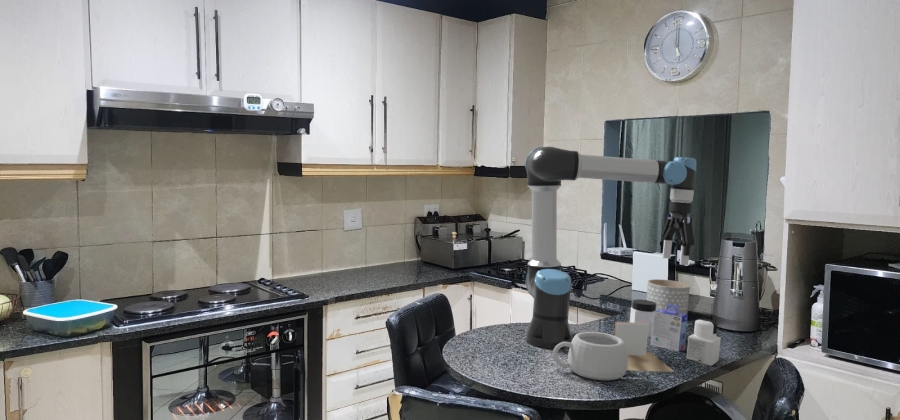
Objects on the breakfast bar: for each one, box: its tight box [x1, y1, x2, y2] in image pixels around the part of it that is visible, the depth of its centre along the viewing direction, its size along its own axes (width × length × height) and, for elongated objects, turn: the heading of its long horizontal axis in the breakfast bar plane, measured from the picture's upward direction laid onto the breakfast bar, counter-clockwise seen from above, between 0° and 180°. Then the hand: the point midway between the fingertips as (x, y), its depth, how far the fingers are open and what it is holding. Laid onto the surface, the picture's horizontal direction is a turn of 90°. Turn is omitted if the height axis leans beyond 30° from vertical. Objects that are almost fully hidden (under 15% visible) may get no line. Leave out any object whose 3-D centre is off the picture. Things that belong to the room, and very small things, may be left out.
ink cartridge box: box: [650, 304, 689, 352], centre depth 202 cm, size 10×6×14 cm, turn 49°
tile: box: [614, 321, 648, 356], centre depth 191 cm, size 10×2×10 cm, turn 94°
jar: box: [629, 299, 656, 339], centre depth 217 cm, size 9×8×12 cm
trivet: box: [626, 351, 675, 373], centre depth 185 cm, size 16×18×1 cm
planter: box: [645, 279, 691, 315], centre depth 252 cm, size 16×16×13 cm
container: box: [686, 318, 722, 367], centre depth 191 cm, size 8×8×13 cm
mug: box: [552, 331, 628, 381], centre depth 173 cm, size 21×17×10 cm
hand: (674, 261), depth 214 cm, fingers open, 13 cm apart
